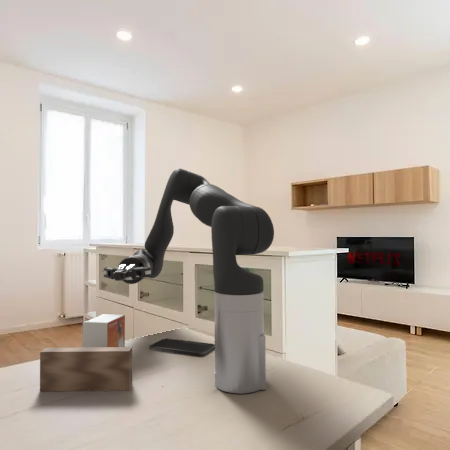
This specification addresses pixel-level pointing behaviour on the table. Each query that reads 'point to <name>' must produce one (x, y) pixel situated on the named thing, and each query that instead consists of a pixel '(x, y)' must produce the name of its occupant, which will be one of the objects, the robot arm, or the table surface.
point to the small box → (104, 331)
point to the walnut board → (86, 369)
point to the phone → (182, 347)
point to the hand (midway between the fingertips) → (118, 276)
